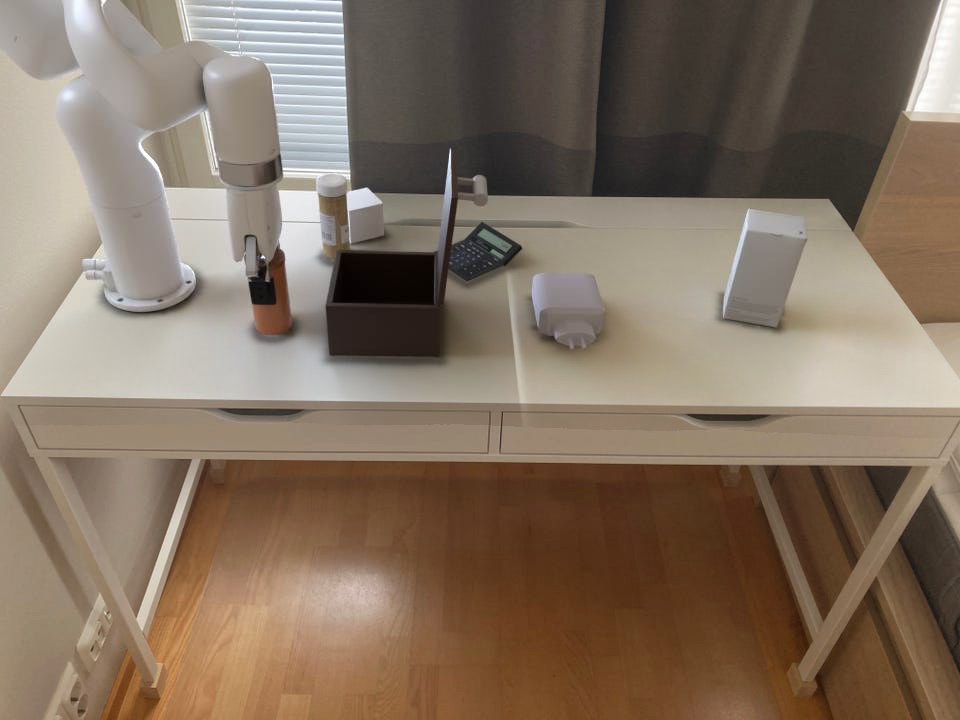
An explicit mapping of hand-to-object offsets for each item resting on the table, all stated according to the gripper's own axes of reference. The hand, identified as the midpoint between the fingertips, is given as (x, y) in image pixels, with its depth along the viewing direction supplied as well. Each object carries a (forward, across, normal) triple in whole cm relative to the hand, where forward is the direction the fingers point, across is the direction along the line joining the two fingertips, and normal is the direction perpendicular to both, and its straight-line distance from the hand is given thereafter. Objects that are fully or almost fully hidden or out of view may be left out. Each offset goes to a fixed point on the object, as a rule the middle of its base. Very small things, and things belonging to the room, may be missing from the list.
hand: (268, 289), depth 107 cm
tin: (+7, 0, 0) cm, 7 cm away
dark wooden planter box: (+7, 0, +16) cm, 17 cm away
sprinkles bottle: (+7, -19, +7) cm, 21 cm away
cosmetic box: (+7, -6, +70) cm, 70 cm away
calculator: (+7, -19, +29) cm, 35 cm away
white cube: (+7, -27, +10) cm, 30 cm away
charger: (+7, -1, +42) cm, 42 cm away
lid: (-10, 0, +23) cm, 26 cm away
